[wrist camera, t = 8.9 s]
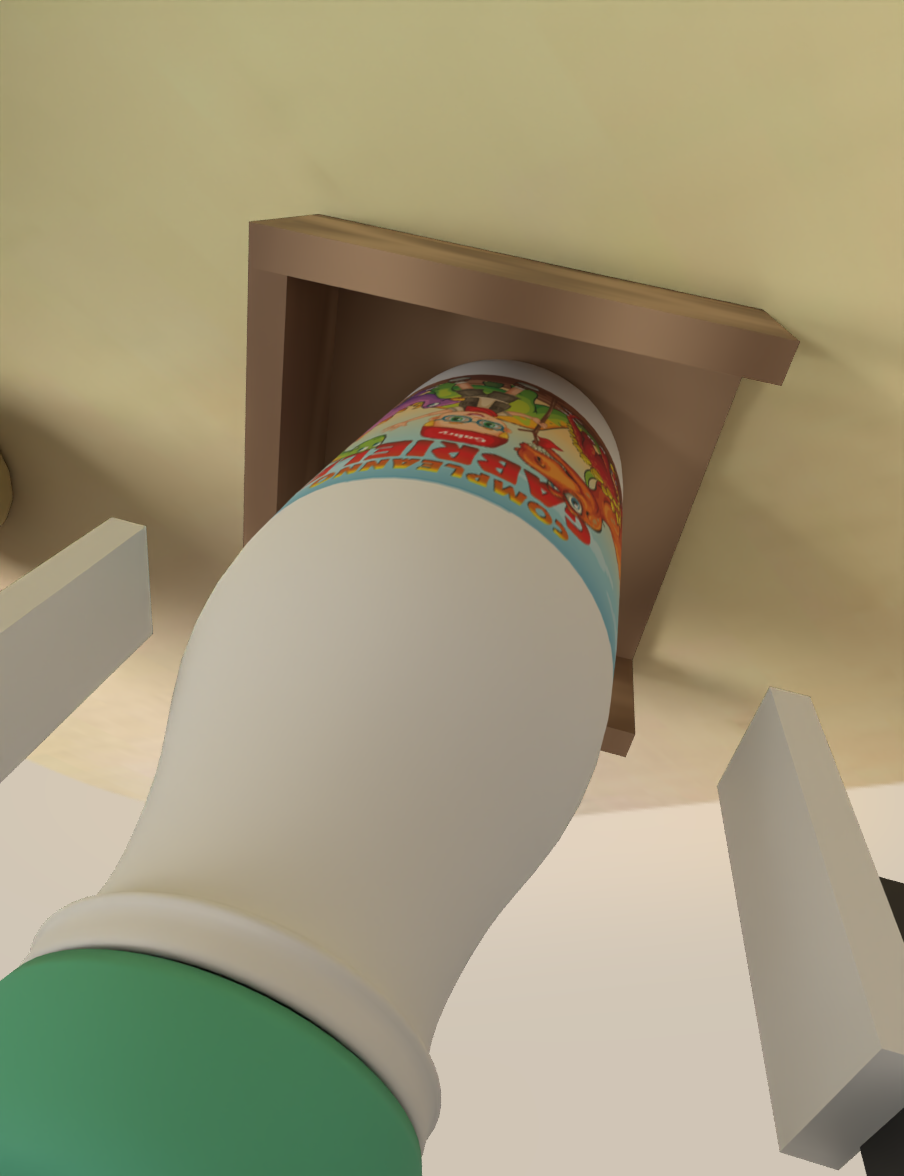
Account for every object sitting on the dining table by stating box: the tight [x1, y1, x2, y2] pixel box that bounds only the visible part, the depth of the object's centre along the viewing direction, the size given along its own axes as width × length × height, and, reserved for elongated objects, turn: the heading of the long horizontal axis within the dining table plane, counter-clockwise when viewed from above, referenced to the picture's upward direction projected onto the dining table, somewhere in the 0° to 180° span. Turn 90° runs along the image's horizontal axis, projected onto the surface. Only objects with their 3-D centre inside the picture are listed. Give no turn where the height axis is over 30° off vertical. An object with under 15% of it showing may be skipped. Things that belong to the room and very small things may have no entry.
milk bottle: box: [0, 359, 623, 1176], centre depth 14 cm, size 8×8×20 cm
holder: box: [243, 214, 800, 757], centre depth 22 cm, size 13×13×5 cm
